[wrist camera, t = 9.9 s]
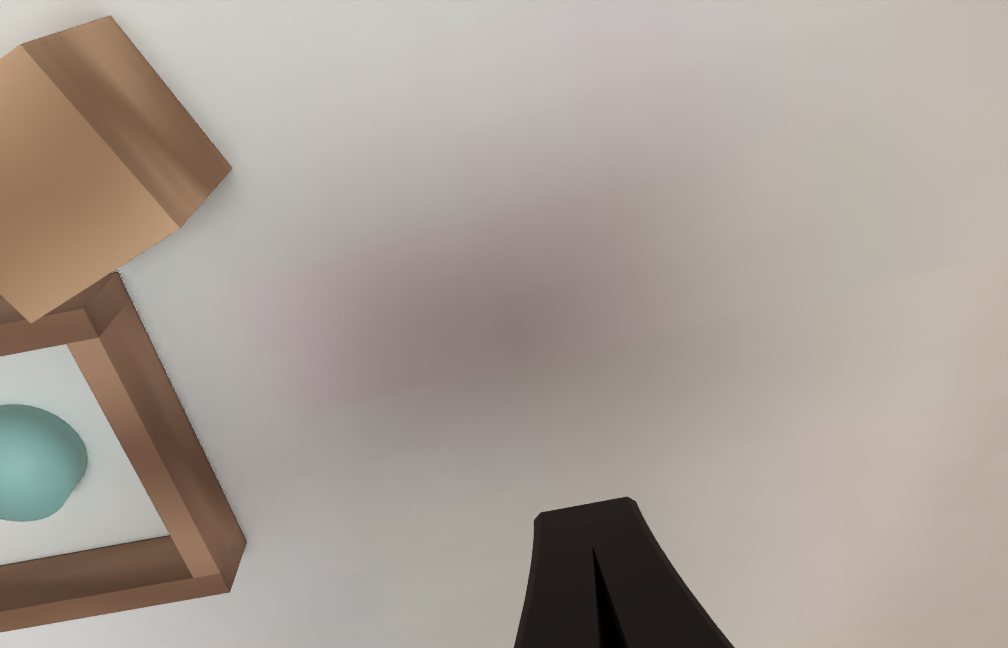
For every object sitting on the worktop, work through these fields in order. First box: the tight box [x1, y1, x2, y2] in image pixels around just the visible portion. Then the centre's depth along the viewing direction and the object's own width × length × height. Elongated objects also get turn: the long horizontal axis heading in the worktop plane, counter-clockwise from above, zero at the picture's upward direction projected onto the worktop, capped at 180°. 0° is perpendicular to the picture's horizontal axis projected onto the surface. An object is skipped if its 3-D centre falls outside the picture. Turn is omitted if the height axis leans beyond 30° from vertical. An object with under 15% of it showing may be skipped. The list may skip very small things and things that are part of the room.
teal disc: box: [0, 404, 87, 522], centre depth 22 cm, size 3×3×1 cm
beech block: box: [0, 16, 232, 323], centre depth 16 cm, size 4×4×4 cm
